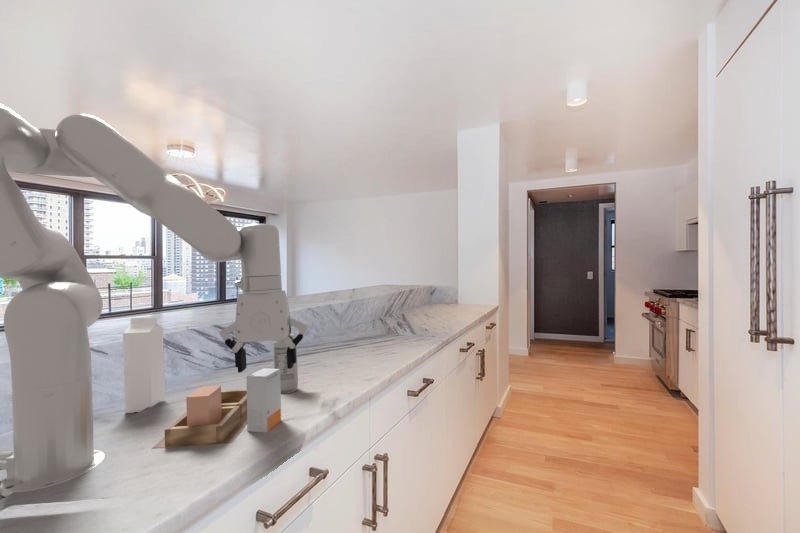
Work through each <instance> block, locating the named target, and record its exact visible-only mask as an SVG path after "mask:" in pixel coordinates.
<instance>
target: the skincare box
mask: <svg viewBox="0 0 800 533" xmlns="http://www.w3.org/2000/svg"><path fill="white" fill-rule="evenodd" d="M246 389H247V424H246V427H247V428H246V429H247V432H252V433H267V432H269V431H270V430H272V428H274V427H275V426H276V425H278V423H280V422H281V421H282V405H281V404H282V394H281V381H280V369H274V368H265V367H263V368H262V369H259V370H257V371H255V372H253V373H250V374H249V375H246Z"/></svg>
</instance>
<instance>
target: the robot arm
mask: <svg viewBox="0 0 800 533" xmlns="http://www.w3.org/2000/svg"><path fill="white" fill-rule="evenodd" d="M9 171H12V172H15V173H20V174H27V175H41V176H43V175H44V176H60V177H61V176H63V177H79V178H80V177H81V178H94V179H96V180H97V181H99V182H100V183H101V184H102V185H104V186H105V187H107V188H108V190H110V191H111V192H113V193H114V194H116V195H117V196H118V197H120V198H121V200H124V201H125V202H126V203H128V204H129V205H130V206H131V207H133V208H134V209H135V210H137V211H138V212H140V213H142V214H145V216H149V217H150V218H152V219H153V220H156V221H157V222H158V223H160V224H161V225H163V226H164V227H166V228H167V229H168V230H170V231H171V232H172V233H174V234H175V235H176V236H177V237H179V238H180V239H181V240H183V241H184V243H187V244H188V245H189V246H190V247H192V248H193V249H195V251H197V252H198V253H199V254H200V255H201V257H203V258H204V259H205V260H207V261H209V262H213V263H214V262H215V263H225V262H229V261H230V262H231V261H235V260H240V266H241V268H240V269H241V277H240V279H238V280H235V281H234V287H235V288H240V289H241V291H242V292H240V293H238V294H237V299H236V308H235V320H234V321H235V322H234V323H232V324H230V325H228V326H227V327H224V328H223V329H221V330H220V331H219V335H220V337H221V338H222V340H223V341H224V344H225V345H226V346H227V347H228V348H229V349H230V350H231V352H232V353H234V363H235V364H234V365H235V366H234V367H235V368H237V372H238V373H242V372H243V371H245V370H246V369H247V354H246V353H247V352H246V348H244V347H245V346H246V345H247V344H258V343H273V342H276V341H282V340H283V342H284V343H285V344H286V345H287V346H288V349H287V368H288V369H291V368H292V367H293V366H294V363H296V345H297V346H298V344H299V343H300V342H301V341H302V340H303V339H304V337H305V335H306V333H307V331H308V329H309V324H307V323H305V322H302V321H300V320H298V319H295V318H293V317H291V314H290V306H289V301H288V297H287V293H286V290H284V289H283V286H282V269H281V268H282V267H281V265H282V264H281V250H280V249H281V248H280V233H279V232H280V231H279V229H278V227H277V226H276V225H274V224H270V223H249V224H245V225H242V226H241V227H240V226H239V227H237V226H236V225H235V224H233V223H232V221H231V220H229V219H228V218H226V216H224V215H223V214H222V213H220V212H219V211H218V210H217V209H216V208H215V207H213V206H212V205H211V204H209V203H208V202H207V201H206V200H204V199H203V198H202V197H201V196H200V195H198V194H196V192H194V191H193V190H191V189H190V188H189V187H187V186H186V185H184V184H183V183H182V182H181V181H179V180H178V178H176V177H174V176H173V175H172V174H171V173H170V172H168V171H166V170H165V169H164V168H163V167H161V166H160V165H159V164H158V163H157V162H155V161H154V160H153V159H151V158H150V157H149V155H147V154H146V153H144V152H143V151H142V150H141V149H140V148H138V146H136V145H135V144H134V143H132V142H131V141H130V140H129V139H128V138H126V137H125V136H124V135H123V134H121V133H120V132H119V131H117V129H115V128H114V127H113V126H111V125H110V124H108V123H107V122H106V121H104V120H102V119H100V118H99V117H98V116H97V117H96V116H94V115H91V114H87V113H77V114H76V113H75V114H71V115H68V116H66V117H64V118H62V119H61V121H60V122H59V123H58V124H57V126H56V129H53V128H42V127H34V126H33V125H32V124H30V123H29V122H28V121H27V120H25V119H24V118H23V117H22V116H21V115H20V114H18V113H16V112H15V111H14V110H12V109H11V108H10V107H7V106H5V105H4V104H2V103H0V278H1V279H6V280H17V282H18V284H19V285H20V287H21V288H22V290H20V291H19V292H18V293H16V294H15V295H14V296H13V297H12V298H11V299H10V301H9V302H8V304H7V305H6V308H5V310H4V314H3V329H4V334H5V338H6V339H5V340H6V343H7V347H8V351H9V359H10V374H11V395H12V396H11V397H12V398H11V399H12V436H13V438H12V439H13V440H12V441H13V450H11V451H1V452H0V471H3V470H5V471H6V477H5V478H4V479H3V480H2V481H1V482H0V496H2V497H4V498H7V497H9V496H10V495H12V494H13V493H17V492H18V493H22V492H31V491H35V490H41V489H44V488H49V487H52V486H53V487H54V486H56V485H60V484H62V483H66V482H67V481H71V480H73V479H75V478H77V477H80V476H82V475H84V474H86V473H88V472H90V471H91V470H93V469H95V468H96V467H98V466H99V465H100V464H101V463H102V462H103V461H104V460H105V458H106V454H105V452H103V451H102V450H98V449H95V446H94V443H95V441H94V439H95V438H94V406H93V405H94V404H93V403H94V402H93V400H94V398H93V373H92V371H93V370H92V367H93V366H92V355H91V354H92V353H91V347H90V346H91V345H90V340H89V334H88V333H89V332H88V328H89V327H91V326H92V325H94V324H95V323H96V322H97V321H98V320H99V318H100V316H101V314H102V312H103V307H104V303H103V298H102V295H101V293H100V291H99V289H98V287H97V285H96V284H95V282H94V280H93V279H92V277H91V275H90V273H89V271H88V269H87V268H86V266H85V264H84V263H83V261H82V259H81V257H80V255H79V253H78V252H77V250H76V248H75V247H74V246H73V244H72V243H71V241H69V239H68V238H67V237H66V236H64V234H62V233H60V232H59V231H56V230H55V229H54V228H53V229H52V228H50V227H47V226H45V225H43V224H42V223H41V221H39V219H38V218H37V216H36V214H35V213H34V212H33V210H32V208H31V207H30V205H29V203H28V201H27V199H26V197H25V195H24V193H23V192H22V190H21V189H20V187H19V186H18V184H17V183H16V181H15V180H14V178H12V176H11V175H10V173H9ZM292 327H294V328H296V329H298V330H299V331H298V334H297V336H295V339H294V338H293V337H292V336H291V335H290V334H292ZM233 331H234V333H235V339H234V338H233V337H232V335H231V333H232V332H233Z"/></svg>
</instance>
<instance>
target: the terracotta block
mask: <svg viewBox="0 0 800 533" xmlns="http://www.w3.org/2000/svg"><path fill="white" fill-rule="evenodd" d="M221 391H222V386H221V385H214V386H212V385H211V386H199V387H198V388H197V389H196V390H194V391H193V392H191V393H190V394H189V395H187V396H186V400H185V401H186V412H187V426H194V425H210V424H219V423H220V422H221V420H222V406H221Z"/></svg>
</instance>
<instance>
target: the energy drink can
mask: <svg viewBox="0 0 800 533" xmlns="http://www.w3.org/2000/svg"><path fill="white" fill-rule="evenodd" d="M290 335H291V336H292V337H293V338H294V339H295V338H296V336H295V334H294V333H291V334H290ZM272 343H273V369H280V381H281V395H284V394H291V393H293V392H294V393H295V391H296V390H297V388H298V387H299V377H298V376H299V374H298V372H299V371H298V344H297V345H296V363H294V366H293V367H292V368H291V369H288V368H287V349H288V346H287V345H286V344H285V343H284V342H283V340H282V341H276V342H272Z"/></svg>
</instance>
